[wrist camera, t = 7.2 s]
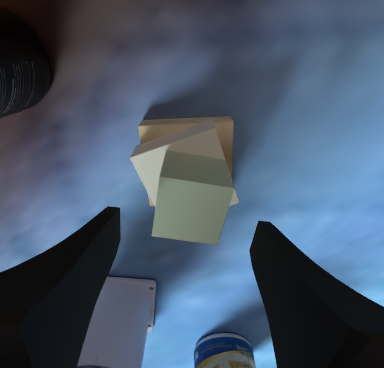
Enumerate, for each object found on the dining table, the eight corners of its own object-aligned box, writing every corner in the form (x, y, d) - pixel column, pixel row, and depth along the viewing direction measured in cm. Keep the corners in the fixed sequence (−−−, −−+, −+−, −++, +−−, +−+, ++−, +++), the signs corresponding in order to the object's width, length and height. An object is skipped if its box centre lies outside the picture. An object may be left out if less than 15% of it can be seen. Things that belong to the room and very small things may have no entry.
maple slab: (226, 188, 23) (230, 203, 21) (153, 191, 23) (149, 206, 21) (229, 114, 20) (233, 121, 18) (143, 118, 20) (138, 126, 18)
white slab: (234, 186, 20) (239, 203, 18) (167, 207, 21) (164, 225, 19) (212, 118, 18) (215, 127, 15) (136, 145, 19) (129, 157, 16)
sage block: (212, 208, 18) (217, 245, 15) (159, 200, 18) (151, 236, 14) (225, 159, 16) (234, 188, 13) (166, 149, 16) (159, 176, 13)
